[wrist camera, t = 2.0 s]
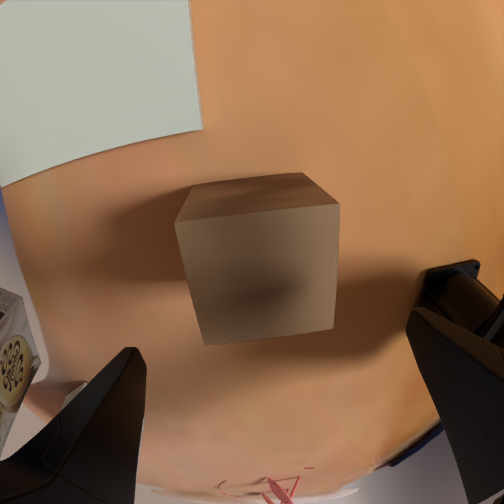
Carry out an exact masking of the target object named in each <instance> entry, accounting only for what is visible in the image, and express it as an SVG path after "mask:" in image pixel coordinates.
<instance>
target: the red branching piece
mask: <svg viewBox="0 0 504 504" xmlns="http://www.w3.org/2000/svg"><path fill="white" fill-rule="evenodd" d="M305 469H311V468H305ZM300 479H301V477H298V478H297V481H296V483H295V485H294V488H293V490H292V492H291V494H290V496H289V495H288V493H289V491H290V489H287V491H285V490H284V489H283V488H282V487H281V486H280V485H278V484H277V483H276V482H274V481H273V480H271V479H270V478H268V483H269V485H270V488H271V489H272V491H273V492H274V494H275V495H276V496H277V497H278V499H279V500H280V501H282V502H281V504H294V503H293V501H292V497H293V495H294V493H295V491H296V488H297V486H298V484H299V481H300ZM224 482H226V481H224ZM224 482H222V483H224ZM222 483H221V484H222ZM221 484H220V485H221ZM220 485H219V486H220ZM219 490H220V489H219ZM220 491H221V490H220ZM221 492H222V491H221ZM223 493H224V492H223ZM223 493H222V494H223ZM225 494H226V493H225ZM227 495H229V494H227ZM262 495H263V497H264V499H265V500H266V502H267V503H268V504H274V503H273V502H272V501H271V500H270V499H269V498H268V497H267V496H265V495H264V494H262ZM230 496H233V495H230ZM234 497H237V496H234ZM240 498H241V497H240Z"/></svg>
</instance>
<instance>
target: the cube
mask: <svg viewBox="0 0 504 504" xmlns="http://www.w3.org/2000/svg"><path fill="white" fill-rule="evenodd" d="M339 218H340V204H339V203H338V202H337V201H336V200H335V199H334V198H332V197H331V196H330V195H329V194H328V193H327V192H325V191H324V190H323V189H322V188H321V187H319V186H318V185H317V184H316V183H315V182H313V181H312V180H311V179H310V178H308V177H307V176H306V175H305V174H304V173H290V174H279V175H269V176H259V177H250V178H242V179H233V180H225V181H218V182H211V183H204V184H197V185H194V186H193V187H192V189H191V191H190V193H189V195H188V197H187V199H186V200H185V202H184V204H183V206H182V208H181V210H180V212H179V214H178V216H177V218H176V220H175V222H174V226H175V231H176V236H177V240H178V245H179V249H180V253H181V258H182V262H183V266H184V270H185V274H186V278H187V282H188V286H189V290H190V294H191V298H192V301H193V305H194V309H195V312H196V316H197V320H198V323H199V327H200V330H201V334H202V337H203V341H204V344H205V345H216V344H227V343H236V342H245V341H254V340H262V339H270V338H277V337H284V336H291V335H298V334H304V333H310V332H316V331H322V330H328V329H333V325H334V315H335V303H336V290H337V274H338V254H339Z"/></svg>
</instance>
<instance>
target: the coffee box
mask: <svg viewBox="0 0 504 504" xmlns="http://www.w3.org/2000/svg"><path fill="white" fill-rule="evenodd" d="M40 364H41V361H40V358H39V355H38V352H37V349H36V346H35V343H34V340H33V336H32V333H31V329H30V326H29V322H28V319H27V315H26V311H25V307H24V302H23V298H22V297H21V296H18V295H16V294H14V293H11V292H9V291H7V290H5V289H2V288H0V457H1V454H2V451H3V448H4V446H5V443H6V440H7V437H8V435H9V432H10V429H11V427H12V424H13V422H14V419H15V417H16V414H17V412H18V410H19V408H20V405H21V403H22V401H23V399H24V396H25V394H26V392H27V390H28V388H29V386H30V384H31V382H32V380H33V378H34V376H35V374H36V372H37V370H38V368H39V366H40Z"/></svg>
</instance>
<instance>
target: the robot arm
mask: <svg viewBox="0 0 504 504" xmlns="http://www.w3.org/2000/svg"><path fill="white" fill-rule="evenodd" d="M479 269H480V262H479V261H477V260H473V261H468V262H464V263H460V264H455V265H451V266H446V267H441V268H437V269H432V270H429V271H428V272H427V274H426V276H425V281H424V285H423V289H422V293H421V297H420V301H419V305H418V308H416V309H413V310H411V312H410V315H409V318H408V322H407V325H406V335H407V337H408V340H409V343H410V345H411V348H412V351H413V354H414V357H415V360H416V362H417V365H418V368H419V370H420V373H421V375H422V377H423V379H424V382H425V384H426V386H427V388H428V391H429V393H430V395H431V397H432V400H433V402H434V404H435V407H436V409H437V412H438V414H439V417H440V419H441V422H442V424H443V427H444V429H445V432H446V435H447V437H448V440H449V442H450V445H451V448H452V451H453V454H454V457H455V460H456V462H457V466H458V469H459V472H460V476H461V479H462V482H463V486H464V489H465V492H466V496H467V500H468V504H478V503H480V502H482V501H484V500H486V499H488V498H489V497H491V496H493V495H495V494H496V493H498V492H500V491H501V490H503V489H504V294H503V298H502V299H501V301H500V300H499V299H498V298H497V297H496V296H495V295H494V294H493V293H492V292H491V291H490V290H489V289H487V288H486V287H485V286H484V285H483V284H482V283H481V282H480V281H479V280H478V279H477V276H478V272H479ZM431 276H432V277H431ZM146 375H147V367H146V364H145V361H144V359H143V357H142V355H141V353H140V351H139V350H138V348H136V347H125V348H124V349H123V350H122V351H121V352H120V353H119V354H118V355H117V356H115V357H114V358H113V359H112V360H111V361H110V362H109V363H108V364H107V365H106V366H105V367H104V368H103V369H102V370H101V371H100V372H99V373H98V374H97V375H96V376H95V377H94V378H93V379H92V380H91V381H90V382H89V383H88V384H87V385H86V386H85V387H84V388H83V389H82V390H81V391H80V392H79V393H78V394H77V395H76V396H75V397H74V398H73V399H72V400H71V401H70V402H69V403H68V404H67V405H66V406H65V407H64V408H63V409H62V410H61V411H60V412H59V414H57V415H56V416H55V417H54V418H53V419H52V420H51V421H50V422H49V423H48V424H47V425H46V426H45V427H44V428H43V429H42V430H41V431H40V432H39V433H38V434H37V435H36V436H34V437H33V438H32V439H31V440H30V441H28V442H27V443H26V444H25V445H24V446H22V447H21V448H20V449H19V450H18V451H17V452H15V453H14V454H13V455H12V456H10V457H9V458H7V459H5V460H3V461H0V504H134V498H135V485H136V475H137V465H138V456H139V448H140V440H141V432H142V425H143V418H144V411H145V393H146ZM493 504H504V494H502V495H501V496H500V497H498V498H497V499H496V500H495V501H494V503H493Z"/></svg>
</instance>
